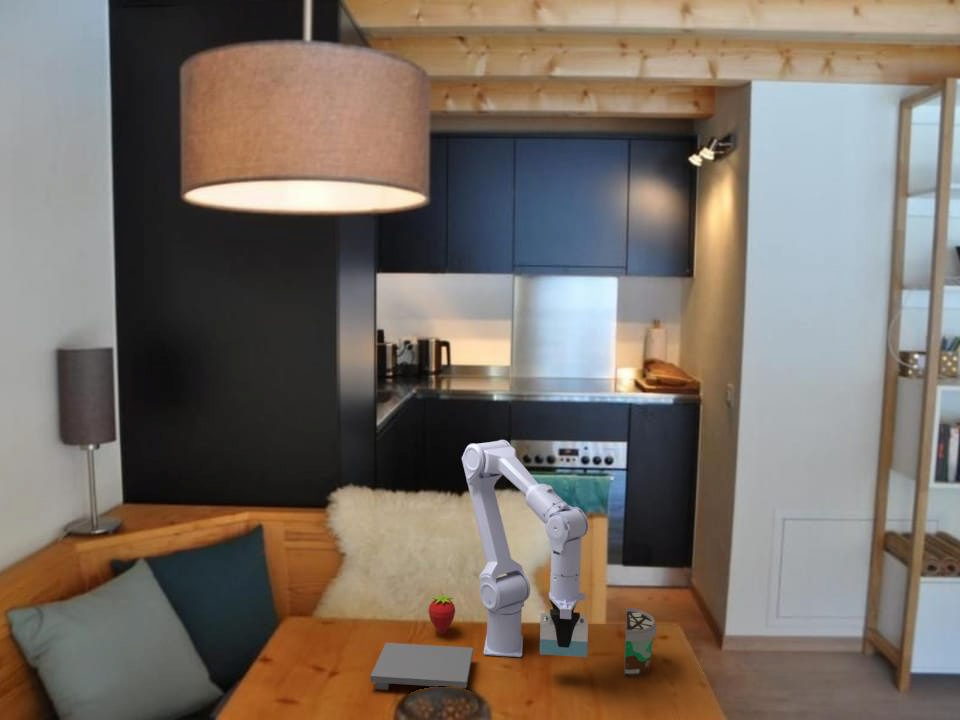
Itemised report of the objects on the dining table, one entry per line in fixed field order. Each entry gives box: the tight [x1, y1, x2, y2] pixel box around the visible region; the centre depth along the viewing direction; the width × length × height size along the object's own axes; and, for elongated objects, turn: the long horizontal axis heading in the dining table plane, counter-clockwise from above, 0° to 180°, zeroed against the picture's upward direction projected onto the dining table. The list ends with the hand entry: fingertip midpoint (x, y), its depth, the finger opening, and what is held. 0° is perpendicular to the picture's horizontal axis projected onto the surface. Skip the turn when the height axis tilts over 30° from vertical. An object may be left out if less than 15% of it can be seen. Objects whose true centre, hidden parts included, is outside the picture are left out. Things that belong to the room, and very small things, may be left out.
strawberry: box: [428, 589, 456, 636], centre depth 163 cm, size 6×8×10 cm
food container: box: [623, 607, 658, 678], centre depth 150 cm, size 12×6×10 cm, turn 168°
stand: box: [369, 642, 474, 691], centre depth 145 cm, size 14×18×3 cm
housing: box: [539, 612, 589, 658], centre depth 144 cm, size 5×9×6 cm, turn 86°
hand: (563, 640), depth 144 cm, fingers closed on housing, 5 cm apart
